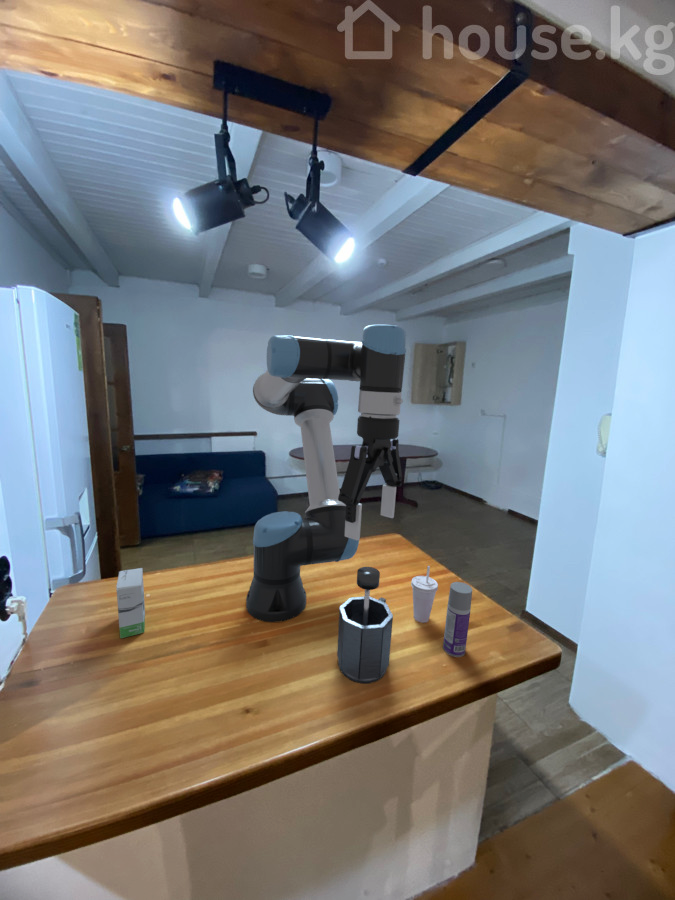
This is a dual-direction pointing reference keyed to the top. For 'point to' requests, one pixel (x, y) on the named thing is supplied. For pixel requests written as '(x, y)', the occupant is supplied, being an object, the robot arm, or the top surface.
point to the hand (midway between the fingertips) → (370, 526)
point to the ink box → (131, 602)
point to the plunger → (367, 586)
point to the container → (457, 619)
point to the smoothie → (423, 596)
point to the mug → (364, 640)
